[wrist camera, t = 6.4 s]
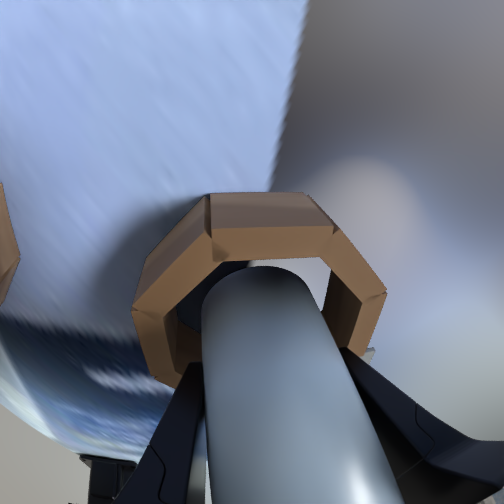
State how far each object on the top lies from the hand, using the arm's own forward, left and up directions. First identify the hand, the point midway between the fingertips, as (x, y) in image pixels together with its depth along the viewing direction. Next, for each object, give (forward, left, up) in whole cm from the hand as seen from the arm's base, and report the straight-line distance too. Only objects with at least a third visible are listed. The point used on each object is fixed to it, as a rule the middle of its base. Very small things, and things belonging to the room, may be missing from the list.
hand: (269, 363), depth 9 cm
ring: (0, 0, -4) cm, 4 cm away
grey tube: (0, 0, -2) cm, 3 cm away
